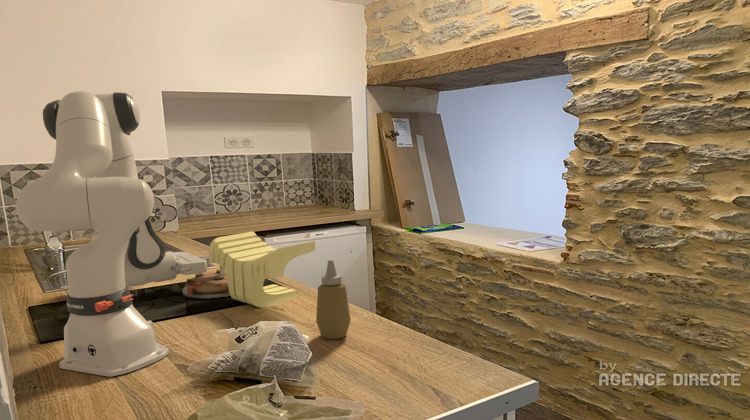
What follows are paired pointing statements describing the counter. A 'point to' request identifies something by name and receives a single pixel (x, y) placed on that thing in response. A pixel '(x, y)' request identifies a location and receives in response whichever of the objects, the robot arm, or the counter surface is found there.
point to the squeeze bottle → (332, 305)
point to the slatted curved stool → (255, 267)
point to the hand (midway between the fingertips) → (210, 258)
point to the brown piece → (210, 282)
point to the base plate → (189, 292)
